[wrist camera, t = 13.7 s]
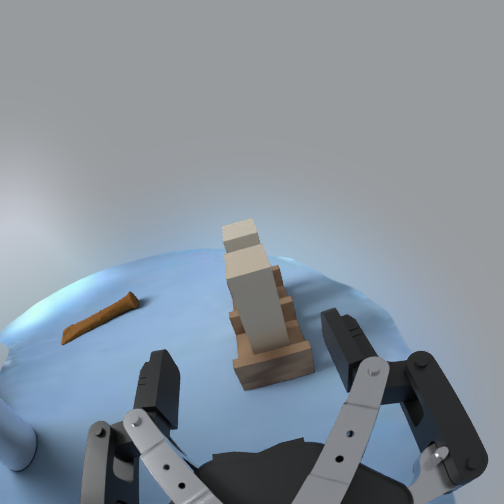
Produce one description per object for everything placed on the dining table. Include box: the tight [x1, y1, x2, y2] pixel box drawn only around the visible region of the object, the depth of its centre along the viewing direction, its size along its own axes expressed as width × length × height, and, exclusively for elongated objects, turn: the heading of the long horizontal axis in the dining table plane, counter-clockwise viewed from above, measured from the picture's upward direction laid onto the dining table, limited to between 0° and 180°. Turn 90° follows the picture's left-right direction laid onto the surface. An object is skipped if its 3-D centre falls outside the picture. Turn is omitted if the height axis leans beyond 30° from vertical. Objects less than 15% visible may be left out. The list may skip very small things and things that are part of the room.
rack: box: [227, 265, 315, 391], centre depth 35 cm, size 8×18×4 cm, turn 7°
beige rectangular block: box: [224, 244, 290, 355], centre depth 29 cm, size 4×5×12 cm
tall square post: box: [223, 218, 260, 253], centre depth 36 cm, size 4×5×12 cm
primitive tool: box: [61, 292, 139, 345], centre depth 47 cm, size 19×6×4 cm, turn 118°
